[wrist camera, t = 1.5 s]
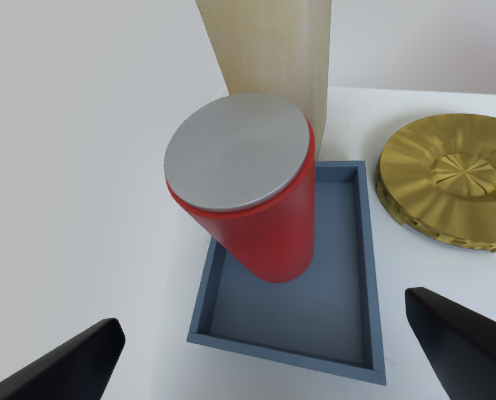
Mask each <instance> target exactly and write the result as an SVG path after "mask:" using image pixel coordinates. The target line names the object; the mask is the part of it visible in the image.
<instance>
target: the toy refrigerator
mask: <svg viewBox="0 0 496 400" xmlns="http://www.w3.org/2000/svg"><path fill="white" fill-rule="evenodd" d="M196 3H197V6H198V8H199V11H200V14H201V17H202V20H203V22H204V25H205V27H206V31H207V33H208V36H209V38H210V41H211V44H212V47H213V50H214V52H215V55H216V58H217V61H218V63H219V66H220V69H221V72H222V75H223V77H224V80H225V83H226V86H227V88H228V91H229V94H230V95H234V94H239V93H245V92H263V93H270V94H274V95H278V96H280V97H283V98H285V99H287V100H289V101H290V102H292V103H293V104H294V105H296V106H297V107H298V108H299V109H300V111H301V112H302V113H303V115H304V116H305V117H306V118H307V120H308V121H309V123H310V125H311V127H312V129H313V132H314V136H315V162H317V158H318V154H319V149H320V144H321V140H322V135H323V130H324V126H325V121H326V110H327V88H328V65H329V44H330V22H331V21H330V20H331V0H196Z"/></svg>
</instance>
